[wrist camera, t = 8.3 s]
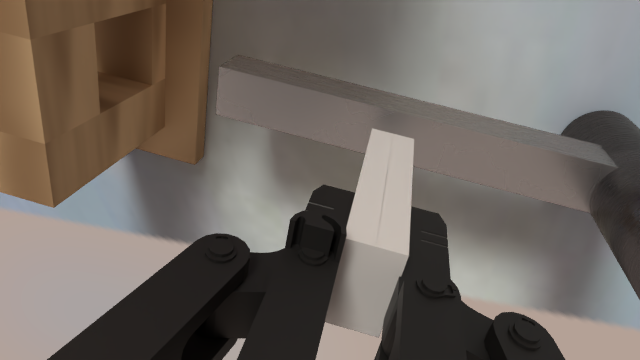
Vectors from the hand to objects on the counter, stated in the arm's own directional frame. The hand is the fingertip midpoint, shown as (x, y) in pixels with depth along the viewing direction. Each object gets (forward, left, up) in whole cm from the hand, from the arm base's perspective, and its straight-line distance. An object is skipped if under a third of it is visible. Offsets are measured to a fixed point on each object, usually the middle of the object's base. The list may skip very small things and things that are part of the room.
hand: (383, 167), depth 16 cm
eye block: (-15, 0, -9) cm, 17 cm away
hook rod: (+2, 0, -9) cm, 9 cm away
